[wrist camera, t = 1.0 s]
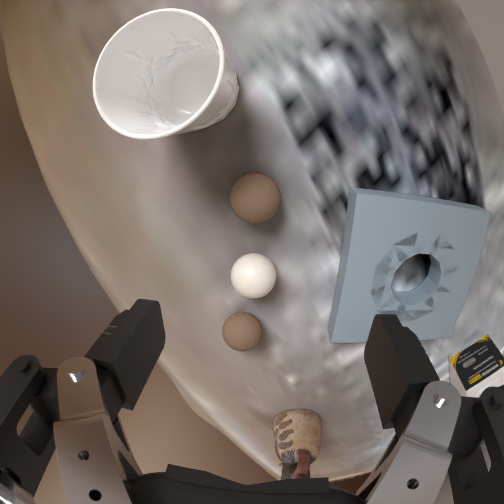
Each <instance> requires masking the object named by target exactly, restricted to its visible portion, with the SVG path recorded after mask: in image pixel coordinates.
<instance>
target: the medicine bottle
mask: <svg viewBox="0 0 504 504" xmlns="http://www.w3.org/2000/svg"><path fill="white" fill-rule="evenodd" d="M449 367H450V381H451V384H452V385H453V386H454V387H456V389H457V390H458V391H459V393H460V395H461V396H466V397H477V398H479V397H480V395H481V394H482V392H483V391H484V390H485V389H486V388H488V387H492V386H493V387H498V388H501V389H502V390H504V357H503V356H502V354H501V353H500V351H499V350H498V348H497V347H496V346H495V344H494V343H493V341H492V340H491V339H490V337H489V336H488V335H487V334H486V335H484V336H482V337H481V338H479V339H478V340H476V341H475V342H473V343H472V344H470V345H469V346H467V347H465V348H464V349H462V350H460V351H459V352H457V353H455V354H454V355H452V356H450V357H449Z"/></svg>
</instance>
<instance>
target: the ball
mask: <svg viewBox="0 0 504 504" xmlns="http://www.w3.org/2000/svg"><path fill="white" fill-rule="evenodd" d="M231 281H232V284H233V287H234V288H235V290H236V291H237V292H238V293H239V294H240V295H242V296H244V297H247V298H252V299H255V298H260V297H263V296H265V295H266V294H268V293H269V292H270V291H271V290H272V288H273V286H274V284H275V281H276V270H275V268H274V265H273V264H272V262H271V261H270V260H269V259H268V258H267V257H265V256H263V255H261V254H256V253H251V254H246V255H244V256H242V257H240V258H239V259H238V260H237V261H236V262H235V264H234V265H233V267H232V271H231Z"/></svg>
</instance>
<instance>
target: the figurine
mask: <svg viewBox="0 0 504 504" xmlns="http://www.w3.org/2000/svg"><path fill="white" fill-rule="evenodd" d="M273 432H274V436H275V451H276V454H277V456H278V458H279V459H280V460H281V461H282V462H283V463H280V464H279V466H280V467H282V476H281V480H284V479H289V478H291V479H299V478H310V470H309V467H310V464H311V463H313V462H314V461H315V460H316V458H317V457H318V454H319V451H320V443H321V432H322V425H321V420H320V417H319V416H318V415H317V414H316V413H315V412H313V411H310V410H304V409H294V410H288V411H284V412H282V413H281V414H279V415H277V416H276V417H275V419H274V425H273Z"/></svg>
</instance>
